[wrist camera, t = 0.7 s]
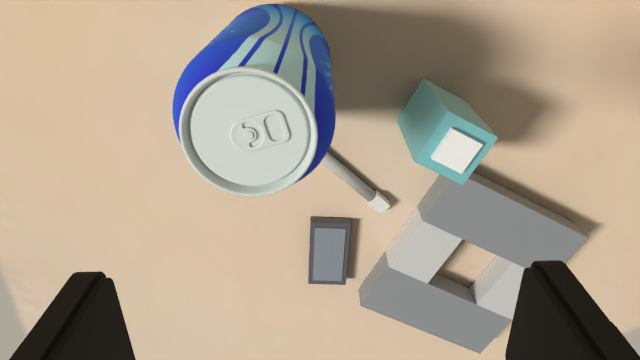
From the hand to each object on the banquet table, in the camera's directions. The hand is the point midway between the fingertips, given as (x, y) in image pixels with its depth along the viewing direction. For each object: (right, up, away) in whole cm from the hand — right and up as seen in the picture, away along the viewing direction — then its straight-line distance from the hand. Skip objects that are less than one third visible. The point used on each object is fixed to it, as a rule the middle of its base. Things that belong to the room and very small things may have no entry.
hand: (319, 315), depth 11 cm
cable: (+2, +4, +30) cm, 30 cm away
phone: (+1, -3, +34) cm, 34 cm away
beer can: (-3, +13, +26) cm, 29 cm away
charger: (+9, +9, +27) cm, 30 cm away
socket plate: (+14, -4, +34) cm, 37 cm away
